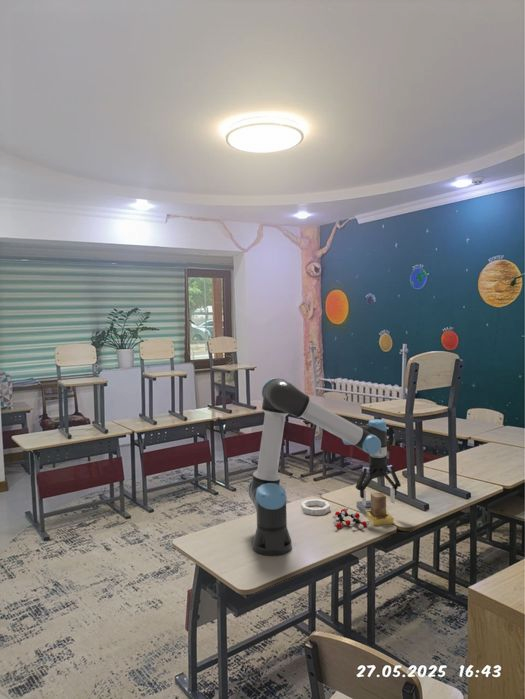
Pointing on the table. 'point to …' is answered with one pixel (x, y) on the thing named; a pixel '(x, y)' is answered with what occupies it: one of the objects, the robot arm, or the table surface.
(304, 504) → the white ring
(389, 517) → the yellow grey tray
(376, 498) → the walnut peg
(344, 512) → the molecular model
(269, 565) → the table surface
